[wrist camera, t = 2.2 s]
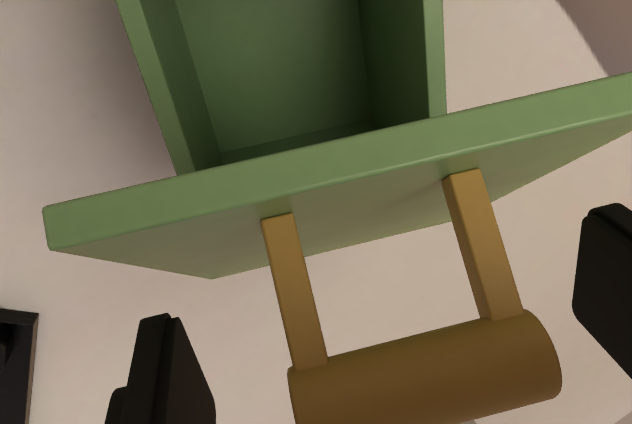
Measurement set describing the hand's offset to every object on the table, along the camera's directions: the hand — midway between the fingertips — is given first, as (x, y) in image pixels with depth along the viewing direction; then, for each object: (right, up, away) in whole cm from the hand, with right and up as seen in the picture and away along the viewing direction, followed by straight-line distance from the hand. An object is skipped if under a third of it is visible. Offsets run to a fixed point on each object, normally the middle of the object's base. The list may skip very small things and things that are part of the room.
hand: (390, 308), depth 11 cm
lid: (-1, +2, +4) cm, 5 cm away
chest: (-4, +13, +18) cm, 23 cm away
